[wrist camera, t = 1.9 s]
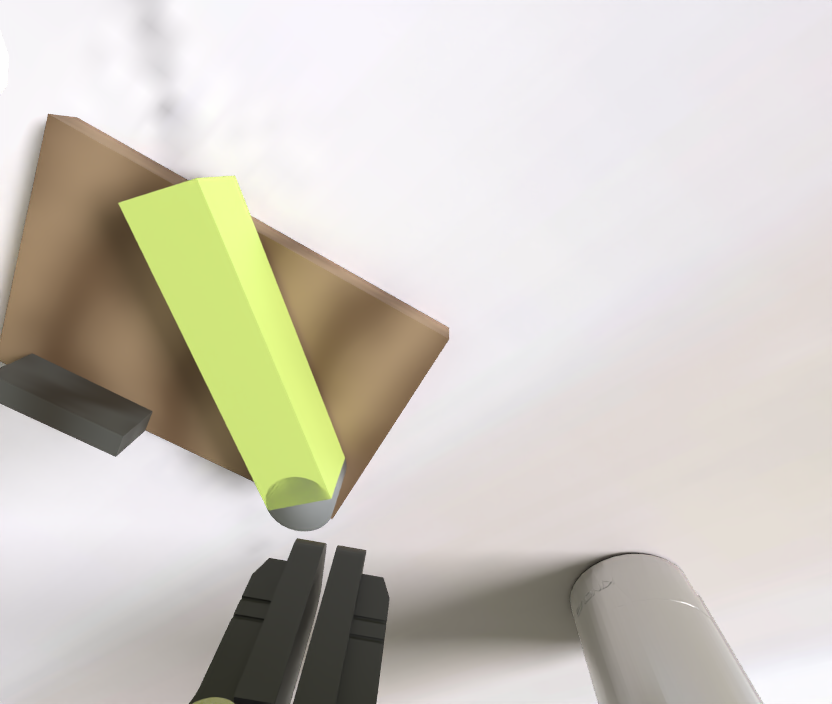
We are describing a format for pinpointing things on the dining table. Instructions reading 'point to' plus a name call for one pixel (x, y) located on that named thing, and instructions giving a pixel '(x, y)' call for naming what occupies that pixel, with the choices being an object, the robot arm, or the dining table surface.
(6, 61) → the foam cup
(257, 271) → the yellow-green long bar
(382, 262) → the dining table surface
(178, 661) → the dining table surface
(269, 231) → the board
